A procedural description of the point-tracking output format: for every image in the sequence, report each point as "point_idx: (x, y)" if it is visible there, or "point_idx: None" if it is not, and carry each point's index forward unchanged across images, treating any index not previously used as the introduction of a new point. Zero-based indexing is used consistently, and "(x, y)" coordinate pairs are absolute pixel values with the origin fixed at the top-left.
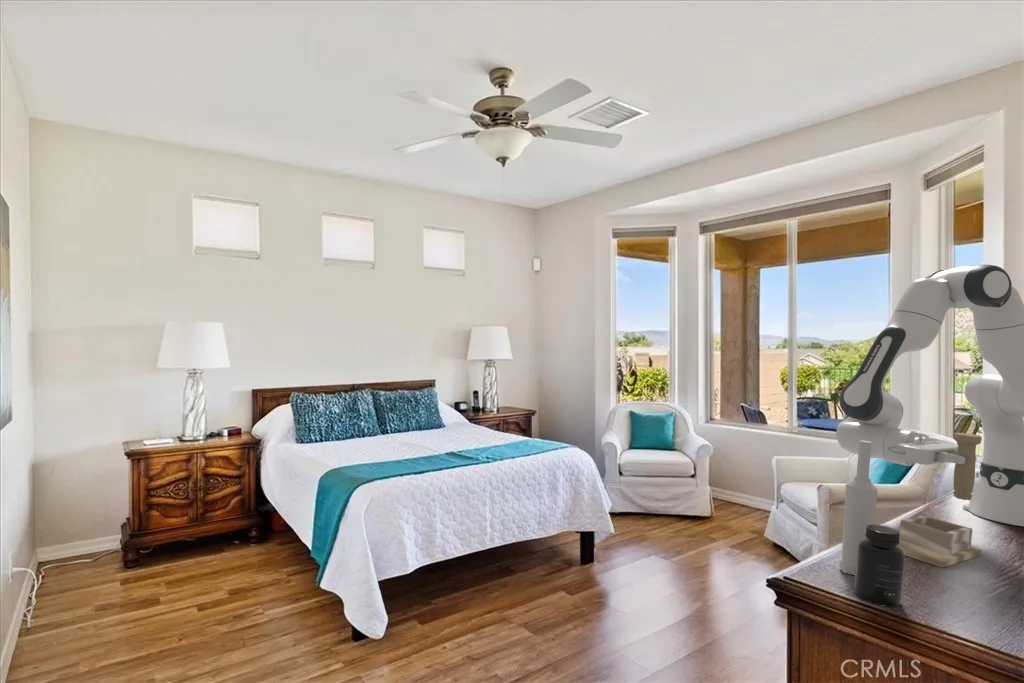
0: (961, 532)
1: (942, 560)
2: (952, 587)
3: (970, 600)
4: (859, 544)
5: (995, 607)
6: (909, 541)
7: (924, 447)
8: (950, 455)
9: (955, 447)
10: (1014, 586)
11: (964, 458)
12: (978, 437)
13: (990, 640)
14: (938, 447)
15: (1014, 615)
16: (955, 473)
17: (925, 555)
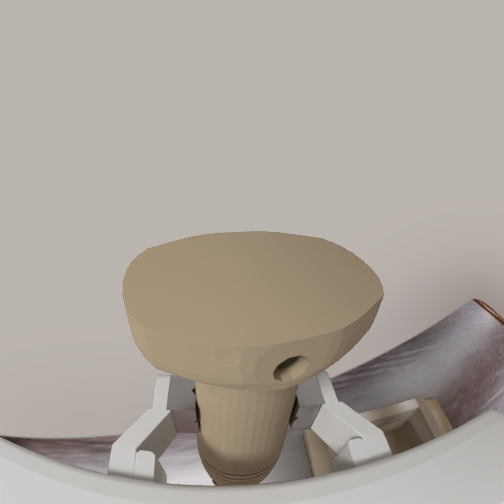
0: (384, 407)
1: (432, 401)
2: (456, 361)
3: (456, 342)
4: None
5: (444, 332)
6: None
7: (478, 468)
8: (358, 416)
9: (87, 472)
10: (381, 355)
11: (322, 371)
12: (283, 235)
13: (476, 308)
14: (352, 496)
15: (438, 322)
16: (276, 459)
17: (443, 416)
